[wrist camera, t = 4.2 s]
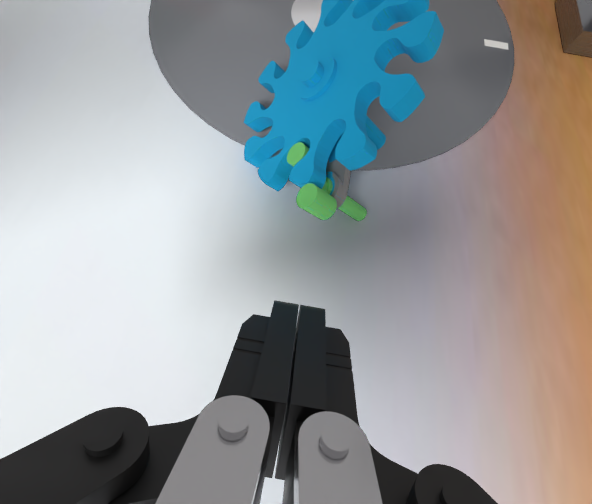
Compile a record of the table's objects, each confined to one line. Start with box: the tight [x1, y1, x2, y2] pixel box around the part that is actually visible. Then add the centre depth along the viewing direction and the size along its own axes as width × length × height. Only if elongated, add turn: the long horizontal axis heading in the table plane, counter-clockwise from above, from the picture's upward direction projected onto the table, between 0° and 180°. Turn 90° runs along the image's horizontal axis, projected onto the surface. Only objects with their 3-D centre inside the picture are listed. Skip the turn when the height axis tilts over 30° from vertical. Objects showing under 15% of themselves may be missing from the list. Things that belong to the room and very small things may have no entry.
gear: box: [244, 0, 444, 221], centre depth 16 cm, size 11×6×10 cm
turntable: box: [149, 0, 514, 170], centre depth 22 cm, size 24×24×1 cm
